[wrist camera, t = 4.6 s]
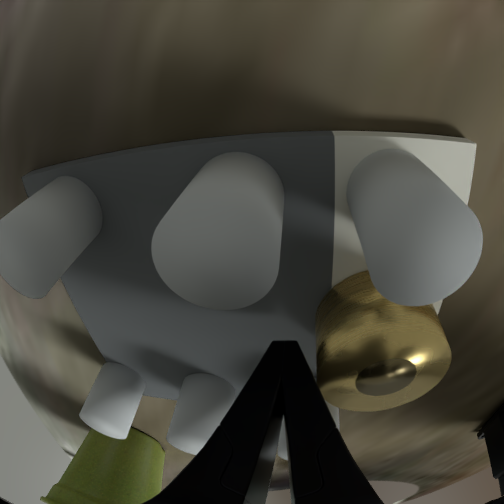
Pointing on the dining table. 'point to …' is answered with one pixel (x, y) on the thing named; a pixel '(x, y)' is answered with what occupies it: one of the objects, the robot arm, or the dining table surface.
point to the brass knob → (376, 348)
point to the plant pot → (111, 471)
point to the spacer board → (153, 304)
